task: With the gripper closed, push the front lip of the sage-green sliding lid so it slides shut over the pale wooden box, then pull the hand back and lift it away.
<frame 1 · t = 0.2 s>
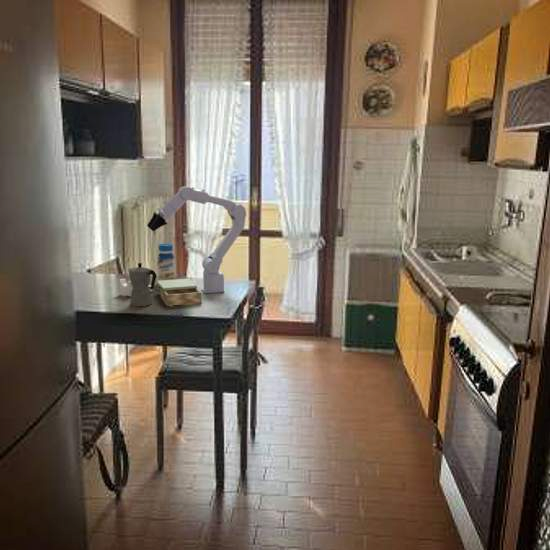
hand: (149, 228, 243), 31 cm above the table, tool tilted 45°, fingers open, 7 cm apart
bracket: (136, 294, 252), on the table
beverage bottle: (166, 284, 273), on the table
box: (180, 300, 241), on the table
coffeepot: (143, 304, 234), on the table
lid: (176, 287, 247), point 4 cm above the table, slide at 8.0 cm
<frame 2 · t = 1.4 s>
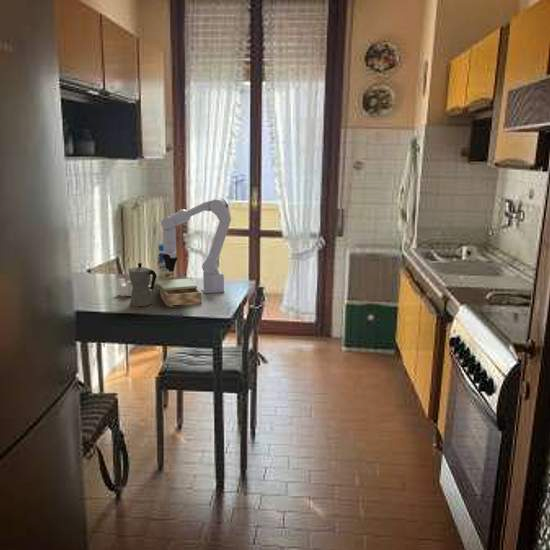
hand: (170, 270, 259), 9 cm above the table, tool pointing down, fingers open, 6 cm apart
nothing on the table moved.
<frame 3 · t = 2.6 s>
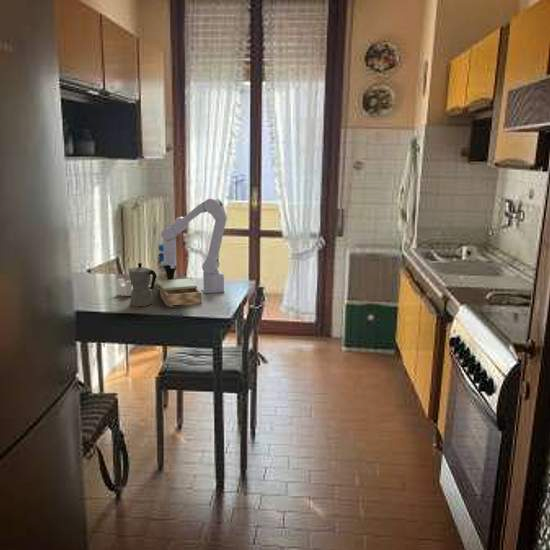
hand: (170, 280, 260), 4 cm above the table, tool pointing down, fingers closed
nothing on the table moved.
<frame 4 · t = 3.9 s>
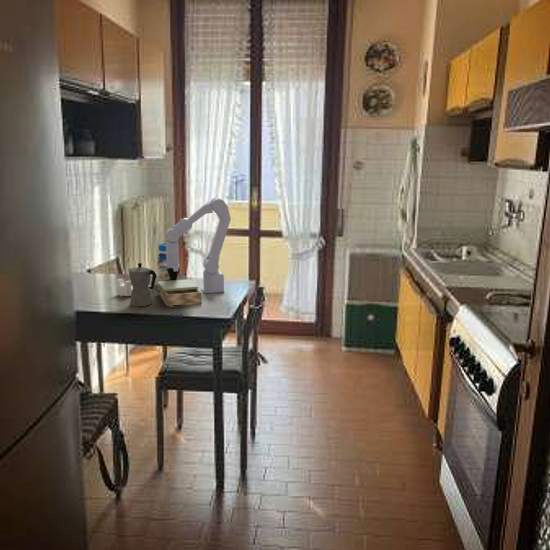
hand: (173, 283, 254), 4 cm above the table, tool pointing down, fingers closed
lid: (177, 288, 246), point 4 cm above the table, slide at 6.2 cm, touching gripper
everything else where it was.
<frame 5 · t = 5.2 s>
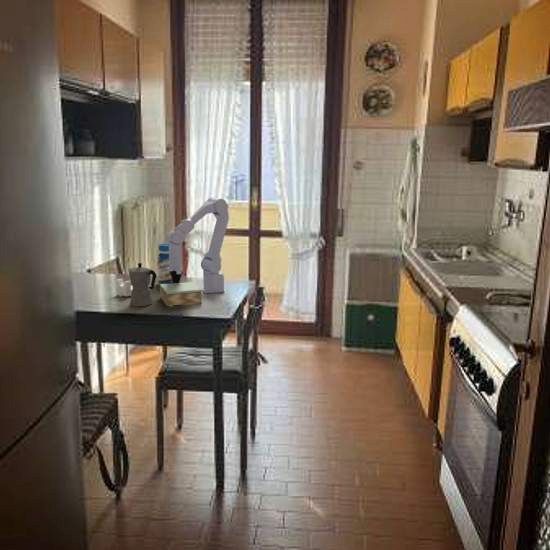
hand: (176, 286, 248), 4 cm above the table, tool pointing down, fingers closed
lid: (180, 291, 240), point 4 cm above the table, slide at -0.1 cm, touching gripper
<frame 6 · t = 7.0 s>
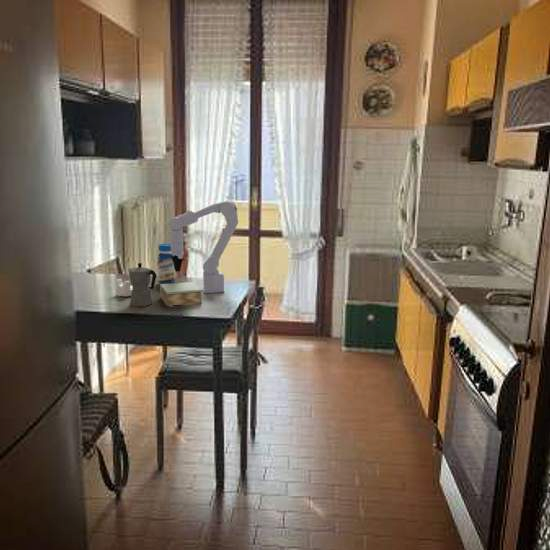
hand: (177, 271, 258), 9 cm above the table, tool pointing down, fingers closed
lid: (180, 291, 240), point 4 cm above the table, slide at 0.0 cm
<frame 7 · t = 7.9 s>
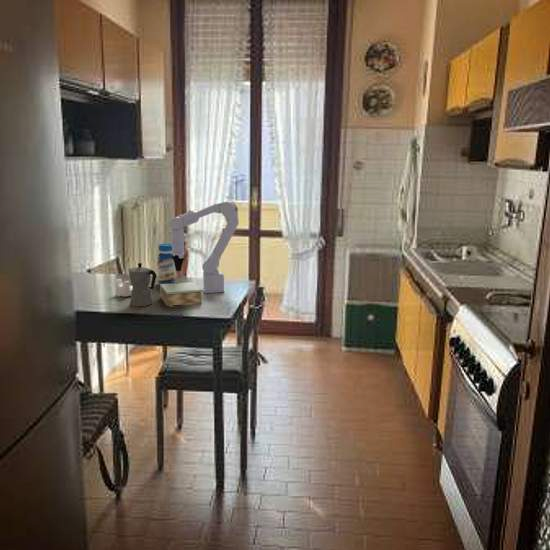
hand: (178, 270, 258), 9 cm above the table, tool pointing down, fingers closed
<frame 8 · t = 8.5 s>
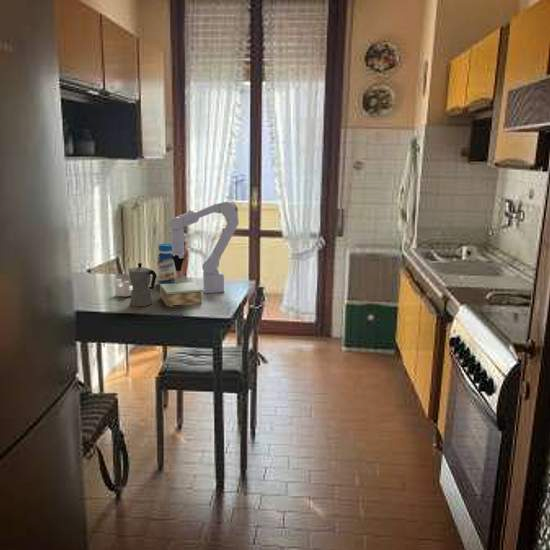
hand: (178, 270, 258), 9 cm above the table, tool pointing down, fingers closed
at the end: lid slide at 0.0 cm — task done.
